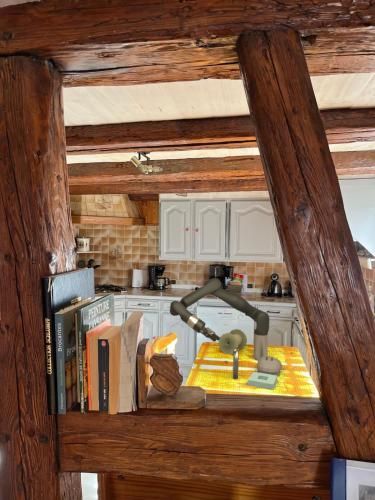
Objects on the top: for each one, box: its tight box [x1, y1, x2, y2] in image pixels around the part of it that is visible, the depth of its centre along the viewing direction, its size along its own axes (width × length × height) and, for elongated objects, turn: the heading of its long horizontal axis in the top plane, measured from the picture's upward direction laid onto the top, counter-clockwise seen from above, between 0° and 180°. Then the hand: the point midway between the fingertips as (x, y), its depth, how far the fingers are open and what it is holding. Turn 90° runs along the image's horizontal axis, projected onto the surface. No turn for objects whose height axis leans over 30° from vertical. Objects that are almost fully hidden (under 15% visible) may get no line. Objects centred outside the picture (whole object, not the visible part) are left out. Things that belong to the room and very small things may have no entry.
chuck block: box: [247, 371, 278, 391], centre depth 191 cm, size 14×14×3 cm
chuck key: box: [232, 347, 240, 380], centre depth 198 cm, size 7×3×18 cm, turn 156°
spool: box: [218, 328, 248, 356], centre depth 249 cm, size 16×15×15 cm
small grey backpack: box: [256, 356, 283, 377], centre depth 209 cm, size 15×8×20 cm
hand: (217, 339), depth 200 cm, fingers open, 8 cm apart
